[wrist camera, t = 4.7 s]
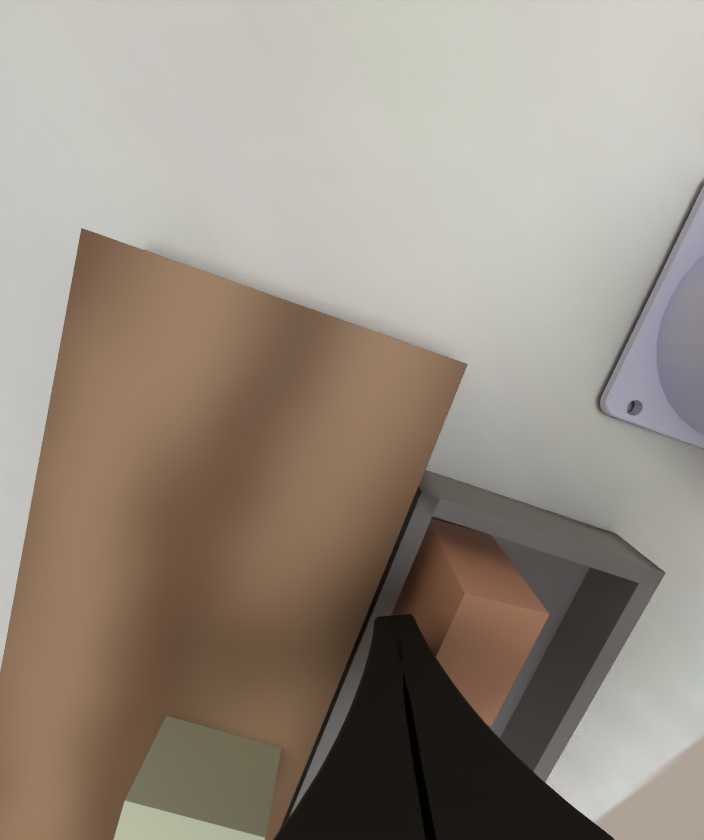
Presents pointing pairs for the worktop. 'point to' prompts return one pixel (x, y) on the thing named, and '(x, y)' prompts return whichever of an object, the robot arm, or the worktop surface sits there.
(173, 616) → the board
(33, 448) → the worktop surface
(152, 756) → the tile sage
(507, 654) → the tile terracotta
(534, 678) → the tray
